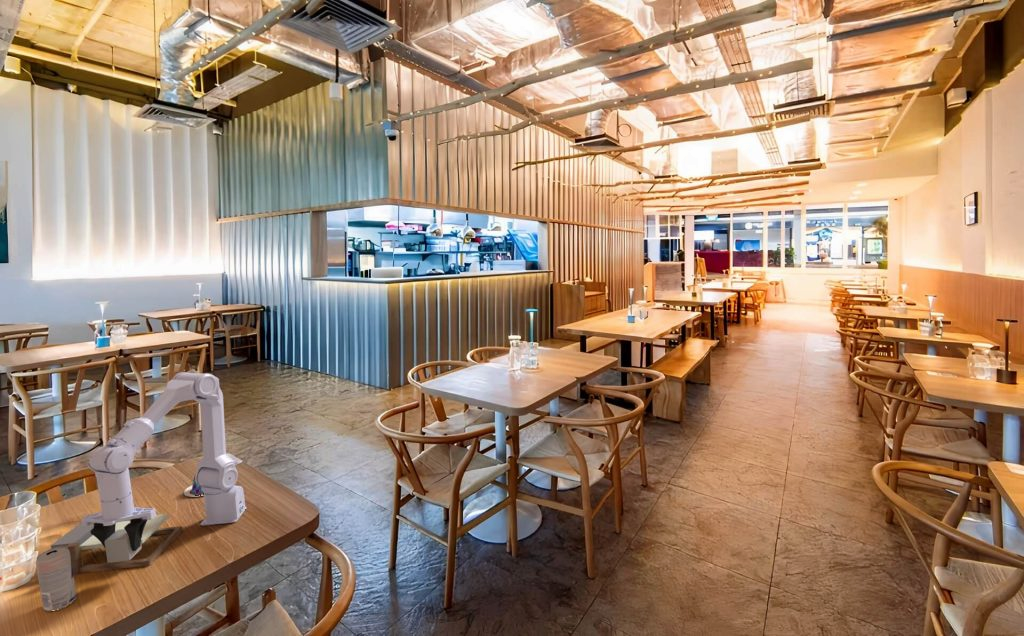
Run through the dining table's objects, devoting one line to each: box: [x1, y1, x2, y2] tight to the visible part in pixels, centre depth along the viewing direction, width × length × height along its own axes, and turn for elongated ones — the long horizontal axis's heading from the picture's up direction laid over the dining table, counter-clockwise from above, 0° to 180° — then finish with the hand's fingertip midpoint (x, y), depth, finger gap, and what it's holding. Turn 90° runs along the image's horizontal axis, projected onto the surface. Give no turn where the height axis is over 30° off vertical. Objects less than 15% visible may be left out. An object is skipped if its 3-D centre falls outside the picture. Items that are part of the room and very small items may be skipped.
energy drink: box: [35, 546, 78, 612], centre depth 104 cm, size 5×5×12 cm
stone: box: [104, 529, 143, 563], centre depth 112 cm, size 5×5×5 cm
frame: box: [66, 525, 183, 575], centre depth 122 cm, size 24×16×7 cm
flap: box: [50, 513, 170, 551], centre depth 122 cm, size 20×12×2 cm, turn 99°
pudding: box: [183, 476, 204, 498], centre depth 155 cm, size 12×12×5 cm
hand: (124, 549), depth 112 cm, fingers closed on stone, 5 cm apart
